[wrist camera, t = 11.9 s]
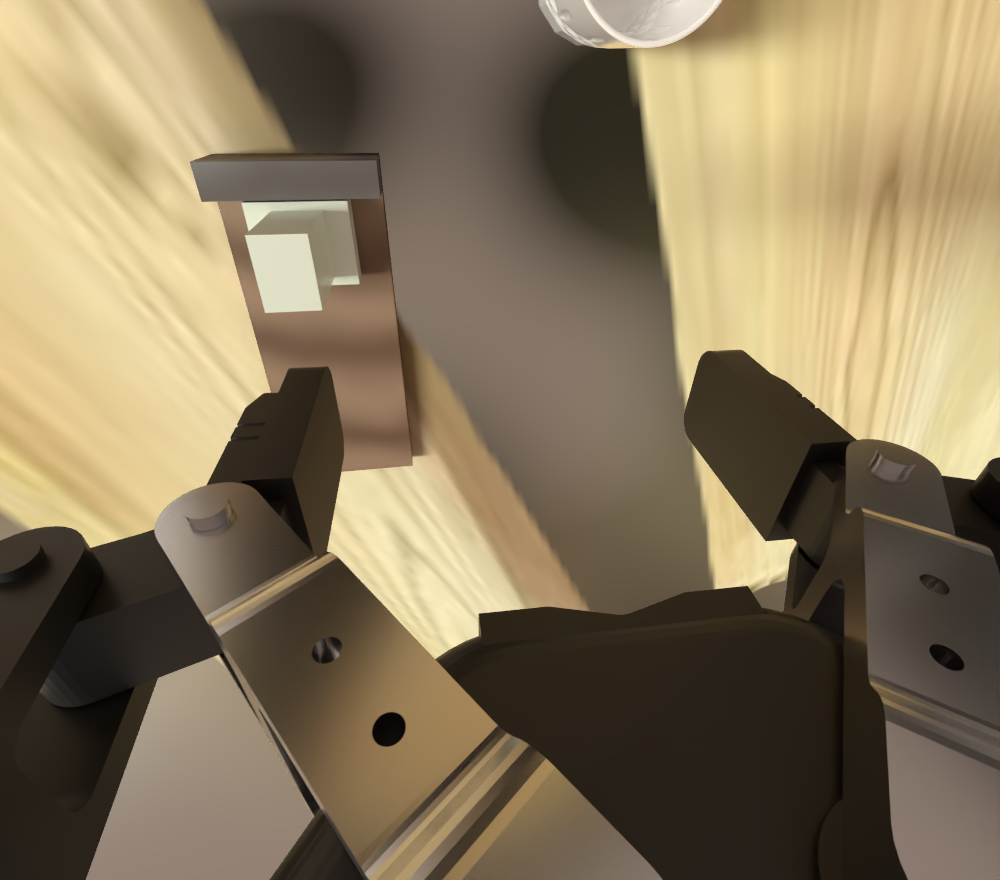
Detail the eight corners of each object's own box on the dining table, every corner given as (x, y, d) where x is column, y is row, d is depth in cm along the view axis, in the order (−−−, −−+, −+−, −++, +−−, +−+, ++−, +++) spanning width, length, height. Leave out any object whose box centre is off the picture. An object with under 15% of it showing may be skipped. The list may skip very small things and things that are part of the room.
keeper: (249, 196, 31) (209, 225, 25) (349, 195, 32) (336, 222, 26) (269, 278, 34) (238, 323, 28) (361, 274, 35) (351, 317, 28)
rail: (212, 154, 31) (189, 161, 28) (378, 153, 32) (376, 160, 29) (297, 465, 45) (289, 495, 41) (412, 456, 46) (413, 484, 43)
